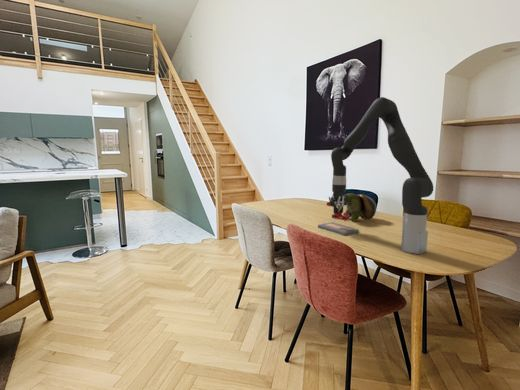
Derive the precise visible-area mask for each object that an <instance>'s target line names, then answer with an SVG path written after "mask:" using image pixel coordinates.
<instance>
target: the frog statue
mask: <svg viewBox="0 0 520 390" xmlns="http://www.w3.org/2000/svg"><path fill="white" fill-rule="evenodd" d="M345 195H348V196H349V197H348V200H347V204H346V205H345V206H346V210H345V212H344V213H346V212H347V213H349V215H350V221H351V222H352V223H353V222H356V221H357V220H358V219H359V218H363V219H365V220H371V219H372V218H374V216H375V215H376V212H377V203H376V202H375V200H374V199H373V198H371V197H369V196H367V195H366V194H363V193H359V194H355V193H353V192H352V193H351V192H349V193H345ZM344 203H345V201H344Z"/></svg>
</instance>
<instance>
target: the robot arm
mask: <svg viewBox="0 0 520 390" xmlns="http://www.w3.org/2000/svg"><path fill="white" fill-rule="evenodd" d="M378 119H381V120H382V122H383V123H384V126H385V127H386V130H387V144H388V147H389V150H390V152H391V154H392V156H393V158H394V159H395V160H396V161H397V162H398V163H399V164H400V165H401V166H402V167H403V168H404V169H405V170H406V172H407V173H408V175H409V177H408V178H406V179H405V180H404V181H403V184H402V193H401V205H402V207H403V214H402V217H403V218H402V230H401V246H400V247H401V248H400V249H401V250H402V251H403V252H404V253H405V252H406V253H410V254H415V255H421V254H425V253H427V247H428V236H429V230H427V220H428V207H427V206H425V205H423V203H422V198H427V197H430V196H431V195H432V194H433V192H434V184H433V181H432V179H431V177H430V175H429V174H428V172H427V171H426V169H425V167H424V165H423V164H422V162H421V159H420V158H419V155H418V154H417V152H416V150H415V147H414V145H413V142H412V139H411V138H410V136H409V134H408V132H407V130H406V128H405V126H404V124H403V122H402V119H401V116H400V113H399V110H398V107H397V104H396V103H395V102H394V100H391V99H389V98H387V97H383V96H382V97H378V98H376V99H375V100H373V102H372V104H371V105H370V107H369V108H368V109H367V111H366V112H365V114H364V115H363V116H362V118H361V120H360V121H359V123H357V125H356V127H355V128H354V129H353V130H352V131H351V132H350V133H349V135H347V137H345V139H344V141H343V145H342V146H341V147H335V148H333V150H332V151H331V153H330V157H331V158H330V159H331V163H332V171H333V172H332V185H331V189H332V190H331V192H332V196H329V197H328V202H330V205H331V206H330V207H332V208H333V214H338V204H339V205H341V206H342V207H343V208H342V209H341V210H340V211H339V212H340V213H342V214H344V207H345V206H346V204H347V200H348V197H349V196H348V195H346V192H347V166H346V165H344V161H345V160H347V159H348V158H349V157H350V156H351V155H352V153H353V152H354V150H355V148H357V146H358V145H359V144H360V143H361V142H362V141H363V140H364V139H365V137H366V135H367V133H368V131H369V129H370V127H371V126H372V124H374V122H375V121H376V120H378ZM344 201H345V203H344ZM332 203H333V204H332ZM335 204H336V205H335Z"/></svg>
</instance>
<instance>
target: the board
mask: <svg viewBox="0 0 520 390" xmlns="http://www.w3.org/2000/svg"><path fill="white" fill-rule="evenodd" d="M317 228H319V229H322V230H325V231H328V232H331V233H335V234H337V235H340V236H347V235H353V234H356V233H359V232H360V229H359V228H355V227H351V226H348V225H344V224H339V223H337V222H335V221H334V222H331V221H330V222H327V223H322V224H318V225H317Z"/></svg>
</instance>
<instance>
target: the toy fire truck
mask: <svg viewBox="0 0 520 390" xmlns="http://www.w3.org/2000/svg"><path fill="white" fill-rule="evenodd" d="M332 204H333V203H332ZM335 205H336V204H335ZM326 206H328V207H332V206H331V205H330V201H328V202H326ZM337 208H338V214H334V213H333V214H331V218H332V219H333V220H343V221H344V222H348V221H351V217H350V215H349V213H347V212H346V211H345V212H346V213H345V212H343V213H340V212H339V211H340V210H341V209H342V208H343V209H344V207H342V206H341V205H339V204H338V207H337Z"/></svg>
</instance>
